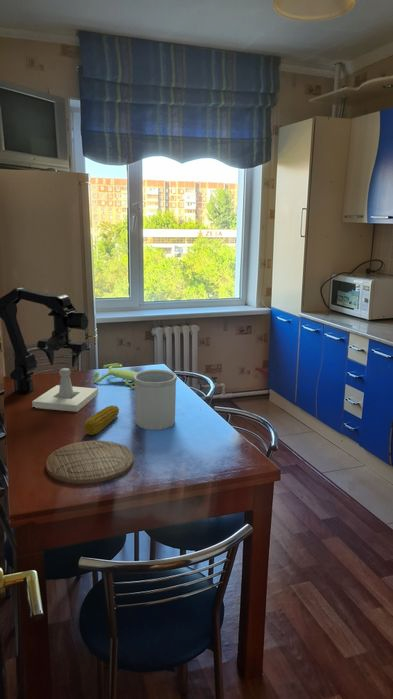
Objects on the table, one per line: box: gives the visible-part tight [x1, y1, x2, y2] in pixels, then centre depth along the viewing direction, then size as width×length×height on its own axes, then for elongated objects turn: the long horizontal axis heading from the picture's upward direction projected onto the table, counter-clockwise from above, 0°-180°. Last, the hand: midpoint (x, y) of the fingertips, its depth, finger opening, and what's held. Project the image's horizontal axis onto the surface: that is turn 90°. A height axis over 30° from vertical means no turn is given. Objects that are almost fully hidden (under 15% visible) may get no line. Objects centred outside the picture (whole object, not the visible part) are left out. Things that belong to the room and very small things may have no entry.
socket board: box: [31, 384, 99, 413], centre depth 200 cm, size 18×20×2 cm
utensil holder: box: [133, 369, 178, 431], centre depth 178 cm, size 15×15×18 cm
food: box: [83, 405, 120, 436], centre depth 177 cm, size 21×6×6 cm, turn 166°
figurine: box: [91, 362, 139, 390], centre depth 226 cm, size 18×27×6 cm
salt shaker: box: [58, 367, 74, 399], centre depth 199 cm, size 6×6×13 cm
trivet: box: [45, 440, 134, 485], centre depth 150 cm, size 25×25×2 cm
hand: (62, 366), depth 202 cm, fingers open, 9 cm apart
